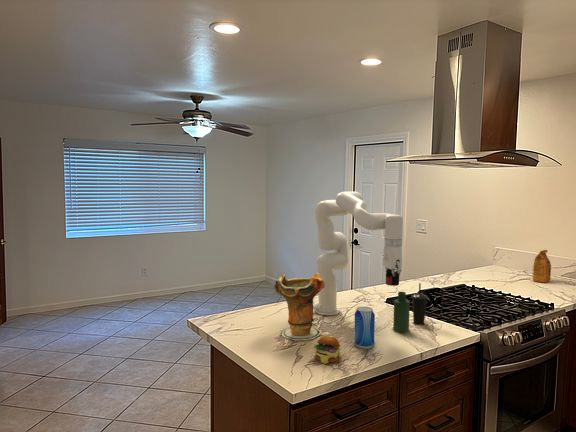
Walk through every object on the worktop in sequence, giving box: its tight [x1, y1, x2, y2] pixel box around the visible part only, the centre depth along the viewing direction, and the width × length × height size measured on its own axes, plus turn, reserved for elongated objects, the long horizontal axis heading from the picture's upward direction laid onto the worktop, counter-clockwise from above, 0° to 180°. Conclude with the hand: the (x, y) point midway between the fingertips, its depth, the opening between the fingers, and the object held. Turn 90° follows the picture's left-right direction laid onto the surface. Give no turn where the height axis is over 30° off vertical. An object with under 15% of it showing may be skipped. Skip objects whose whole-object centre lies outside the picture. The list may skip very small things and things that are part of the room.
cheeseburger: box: [313, 335, 342, 364], centre depth 163 cm, size 10×11×10 cm
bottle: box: [392, 291, 411, 334], centre depth 193 cm, size 7×7×18 cm
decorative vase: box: [273, 272, 325, 341], centre depth 188 cm, size 21×23×28 cm
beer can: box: [353, 306, 376, 350], centre depth 175 cm, size 8×8×16 cm
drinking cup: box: [411, 282, 429, 326], centre depth 203 cm, size 8×8×20 cm
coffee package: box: [532, 249, 552, 283], centre depth 288 cm, size 10×12×22 cm
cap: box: [385, 276, 399, 287], centre depth 183 cm, size 5×5×3 cm
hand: (392, 282), depth 183 cm, fingers closed on cap, 5 cm apart
